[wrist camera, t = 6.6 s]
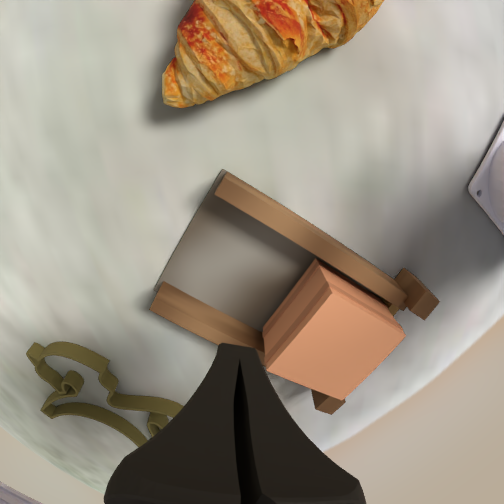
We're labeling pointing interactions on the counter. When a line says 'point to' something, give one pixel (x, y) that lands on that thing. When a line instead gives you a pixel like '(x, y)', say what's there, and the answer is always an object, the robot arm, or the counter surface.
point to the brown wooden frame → (261, 270)
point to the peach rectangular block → (329, 333)
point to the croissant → (253, 42)
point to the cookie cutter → (108, 380)
